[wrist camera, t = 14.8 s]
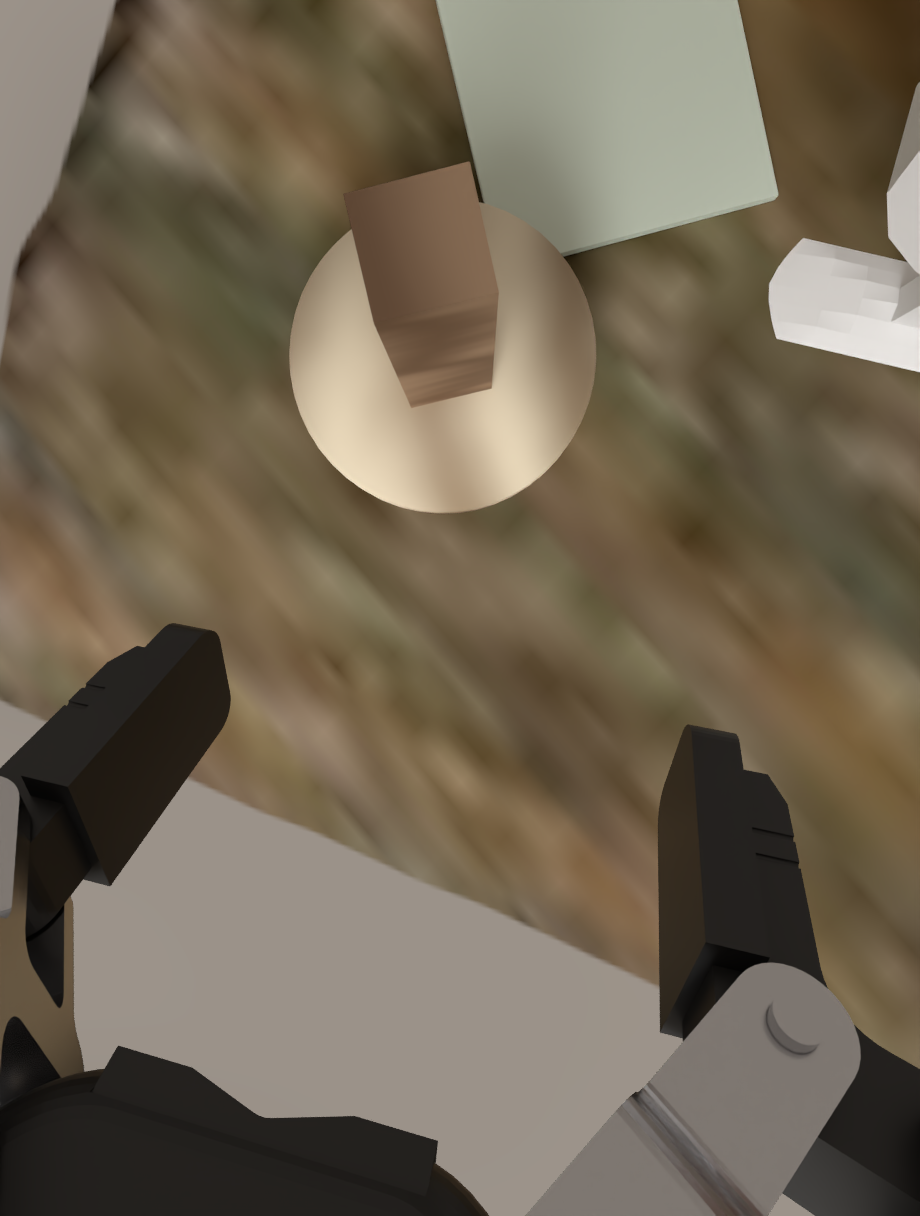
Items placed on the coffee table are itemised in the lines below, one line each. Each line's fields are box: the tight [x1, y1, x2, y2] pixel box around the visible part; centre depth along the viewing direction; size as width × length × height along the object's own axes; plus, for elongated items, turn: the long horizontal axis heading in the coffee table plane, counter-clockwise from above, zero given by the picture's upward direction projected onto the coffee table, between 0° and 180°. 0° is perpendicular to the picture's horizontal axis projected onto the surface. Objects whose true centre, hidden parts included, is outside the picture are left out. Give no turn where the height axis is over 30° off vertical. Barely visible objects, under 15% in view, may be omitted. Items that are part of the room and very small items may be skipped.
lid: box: [289, 161, 596, 514], centre depth 24 cm, size 13×13×12 cm
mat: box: [436, 0, 778, 257], centre depth 34 cm, size 14×14×1 cm
